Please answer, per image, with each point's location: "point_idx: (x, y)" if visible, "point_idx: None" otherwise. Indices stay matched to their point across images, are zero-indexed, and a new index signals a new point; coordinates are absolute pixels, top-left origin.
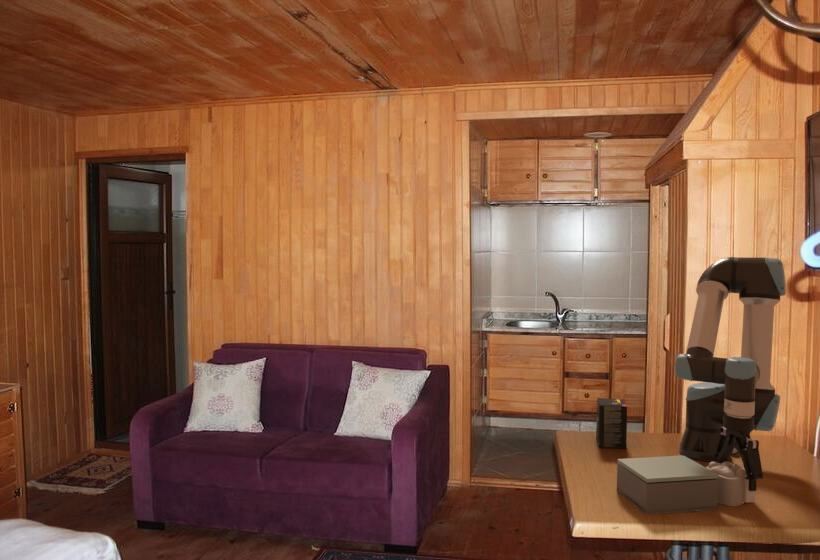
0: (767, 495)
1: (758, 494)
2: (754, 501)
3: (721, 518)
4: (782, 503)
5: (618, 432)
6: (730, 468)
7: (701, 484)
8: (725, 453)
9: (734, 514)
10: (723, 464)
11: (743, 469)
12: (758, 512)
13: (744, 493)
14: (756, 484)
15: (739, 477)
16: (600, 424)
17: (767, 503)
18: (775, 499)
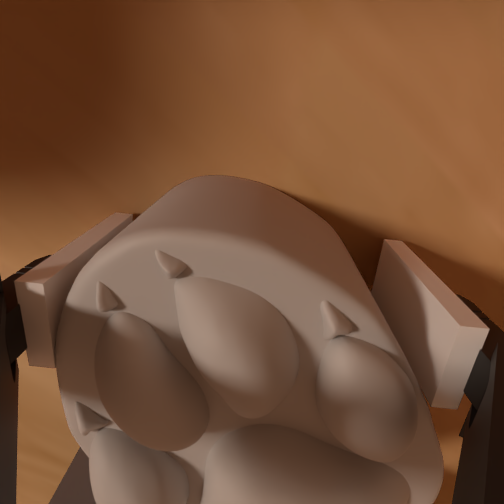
0: (317, 32)
1: (282, 89)
2: (401, 244)
3: (455, 480)
4: (474, 41)
5: None
6: (205, 383)
7: None
8: (12, 461)
9: (451, 416)
10: (166, 450)
11: (392, 423)
12: (493, 303)
13: (388, 323)
14: (496, 326)
15: (425, 458)
16: None
17: (426, 153)
18: (398, 32)
